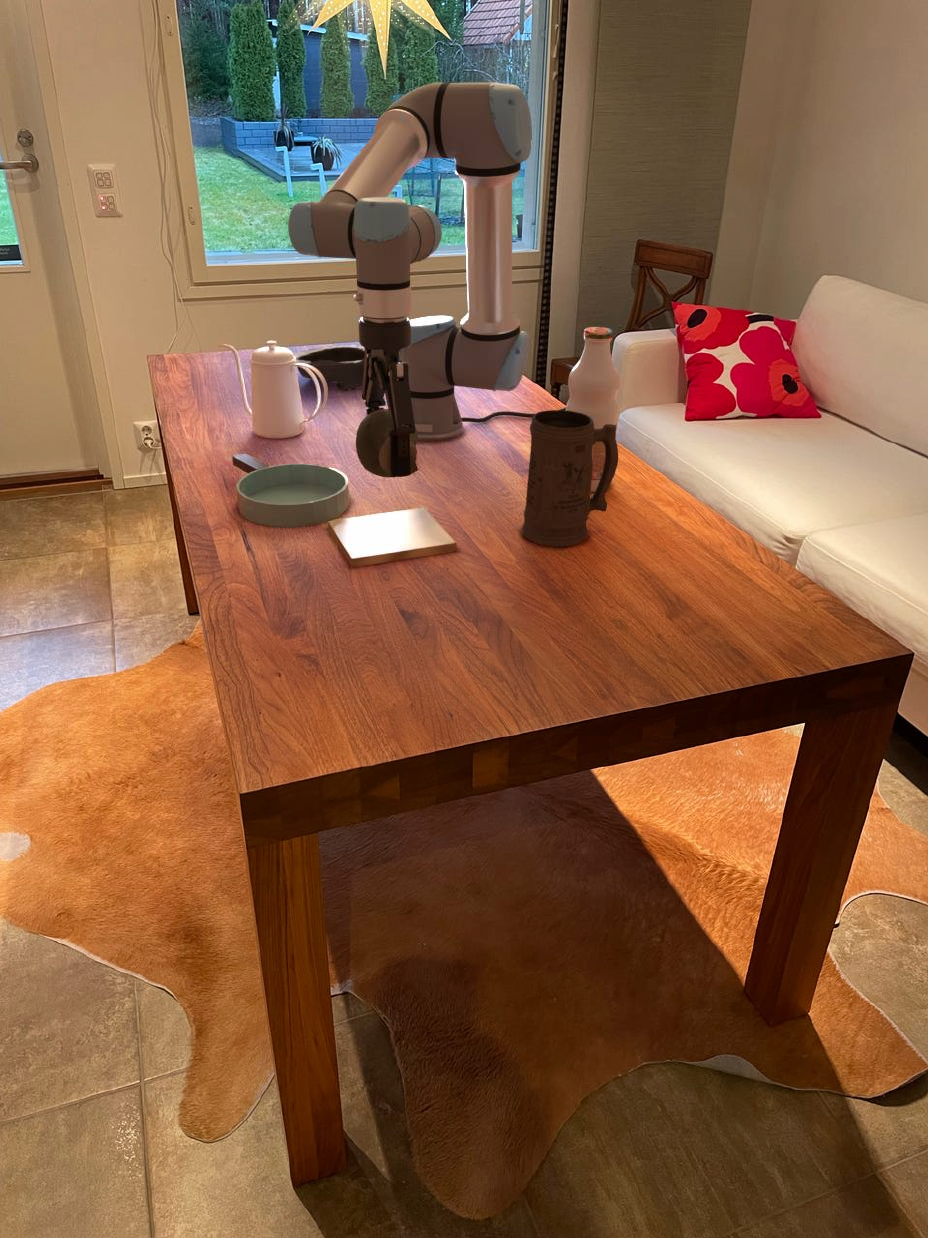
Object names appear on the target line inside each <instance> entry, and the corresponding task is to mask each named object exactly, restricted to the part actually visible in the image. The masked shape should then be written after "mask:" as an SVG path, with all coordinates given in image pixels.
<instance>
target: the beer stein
mask: <svg viewBox="0 0 928 1238" xmlns="http://www.w3.org/2000/svg"><path fill="white" fill-rule="evenodd" d="M533 414H534V415H533V417H532V418H531V422H530V425H529V431H530V453H529V464H528V475H527V484H526V485H527V486H526V496H525V497H526V498H525V508H524V510H523V524H522V528H521V533H522V535H523V536H524V537H525V538H526V539H527V540H528V541H531V542H532V543H535V544H538V545H541V546H546V547H553V548H554V547H555V548H561V547H562V548H563V547H572V546H576V545H578V544H582V543H583V542H584V541H585V540H586V539H587V537H588V527H587V522H588V519H589V515H590V513H591V512H593V511H598V512H603V513H604V512H607V509H608V501H607V500H606V493H607V492H608V489H609V487H610V485H611V483H612V482H613V479H614V477H615V475H616V472H617V469H618V464H619V449H618V443H617V439H616V438H617V437H616V436H617V435H616V436H615V432H616V433H617V429H616V425H613V424H605V425H604V426H603V428H601V429H597V430H595V429H594V421H593V419H592V418H591V417H589V416H588V415H585V414H583V413H578V412H574V411H563V410H560V409H551V410H542V411H537V412H536V414H535V413H533ZM600 441H601V442H603V443H604V445H605V449H606V451H605V463H604V468H603V472H602V475H601V478H600V481H599V484H598V486H597V488H596V491H595V492H593V495H592V496H591V492H590V491H591V481H592V468H593V462H592V446H593V445H594V444H595V443H596V442H600Z"/></svg>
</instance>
